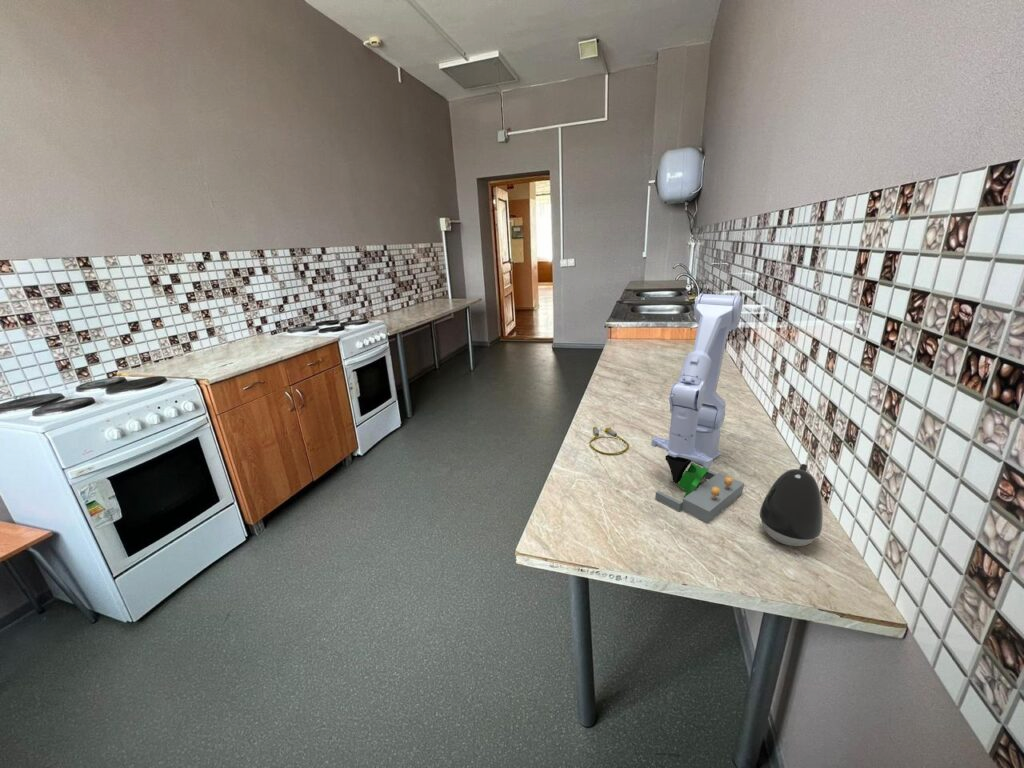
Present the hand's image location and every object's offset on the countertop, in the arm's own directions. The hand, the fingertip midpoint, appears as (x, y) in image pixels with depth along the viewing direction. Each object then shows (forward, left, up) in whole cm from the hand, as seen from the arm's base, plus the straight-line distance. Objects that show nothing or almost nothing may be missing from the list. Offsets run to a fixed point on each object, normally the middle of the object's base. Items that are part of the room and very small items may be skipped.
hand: (676, 481), depth 99 cm
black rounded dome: (0, +24, -1) cm, 24 cm away
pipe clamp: (-1, +2, -1) cm, 3 cm away
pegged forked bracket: (0, +6, -1) cm, 6 cm away
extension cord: (-5, -25, -2) cm, 26 cm away
